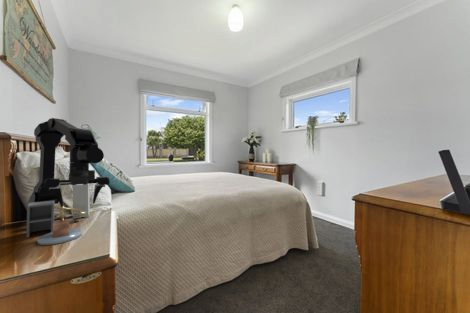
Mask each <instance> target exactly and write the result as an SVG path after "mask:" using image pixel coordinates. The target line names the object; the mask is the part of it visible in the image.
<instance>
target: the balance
mask: <svg viewBox="0 0 470 313" xmlns="http://www.w3.org/2000/svg"><path fill="white" fill-rule="evenodd" d="M55 209H57V210H59V219H58V220H54V222H60V221H66V220H69V224H75V222H76V221H75V219H74V218H73V217H71V218H65V210H68V211H73V210H77V211H80V209H74V208H73V207H65V206H64V205H63V207H61V206H54V210H55ZM85 213H86V212H85V211H80V212H75V213H74V215H81V214H85Z"/></svg>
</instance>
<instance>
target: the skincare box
mask: <svg viewBox="0 0 470 313" xmlns="http://www.w3.org/2000/svg"><path fill="white" fill-rule="evenodd" d="M90 207H91V206H90V184H86V185H83V184H77V185H72V208H74V209H80V211H85V212H86V213H85V214H81V215H74V213H75V212H80V211H77V210H72V218H74V220H75V219H83V218H82V217H84V218H89V217H90V216H89V215H90V214H91V212H90Z"/></svg>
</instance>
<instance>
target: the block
mask: <svg viewBox="0 0 470 313" xmlns="http://www.w3.org/2000/svg"><path fill="white" fill-rule="evenodd" d="M69 229H70V223H69V220H66V221H60V222H53V238H56V237H62V236H67V235H69Z"/></svg>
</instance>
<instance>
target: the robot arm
mask: <svg viewBox="0 0 470 313" xmlns="http://www.w3.org/2000/svg"><path fill="white" fill-rule="evenodd" d="M33 135H34V137H35V141H36V143H37V144H38V146H39V148H40V153H39V155H40V156H39V175H38V176H39V178H38V179H39V180H38V182H37V183H36V185H35V186H34V187H33V189H32V193H31V194H30V196H29V199H28V201H27V205H28V204H29V203H32V202H43V201H54V200H55V203H54V205H55V204H56V205H57V204H59V205H60V207H63V206H64V200H63V193H62V192H63V190H62V186H70V185H71V186H73V185H77V184H83V185H86V184H89V185H91V184H94V191H93V196H92V205H94V204H95V203H96V200H97V198H98V196H99V193H100V191H101V190H102V188H106V185H110V178H109V177H108V176H104V175H103V176H96V171H95V170H96V169H95V170H94V169H93V170H92V169H90V164H98V163H101V162H102V161H103V159H104V155H105V154H104V152H103V150H102V149H101V148H100V147H99V144H98V142H97V140H96V138H95V135H94V134H93V132H92V130H89V129H84V128H79V127H77V126H74V125H73V124H71V123H69V122H68V121H67V120H64V119H61V118H54V117H51V118H48V120H46V121H43V122H41V123H39V124H37V126H36V127H35V128H34V132H33ZM64 136H65V138H64V140H65V141H66V142H67V143H68V144H69V145H70V146H69V147H68V148H67V150H68V151H69V168H68V169H69V172H68V179H61V178H60V177H55V171H56V170H55V168H56V167H55V166H56V148H57V147H58V145H59V144H61V142H62V138H63V137H64ZM56 217H57V215H54V219H55V218H56Z"/></svg>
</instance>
